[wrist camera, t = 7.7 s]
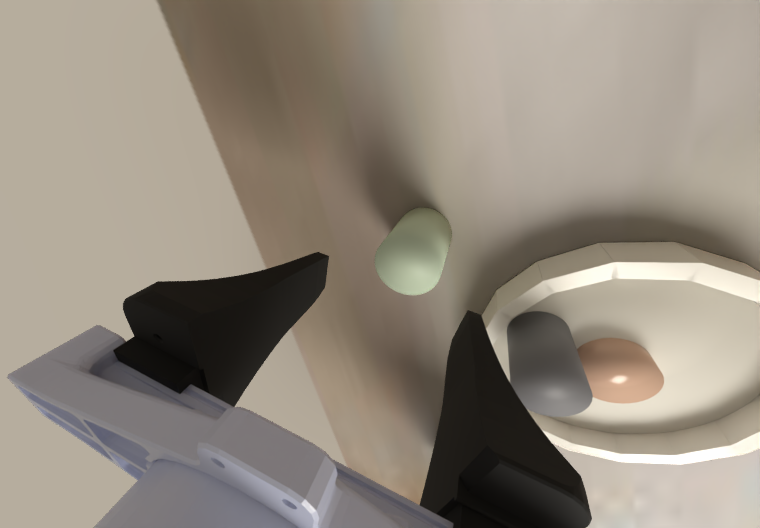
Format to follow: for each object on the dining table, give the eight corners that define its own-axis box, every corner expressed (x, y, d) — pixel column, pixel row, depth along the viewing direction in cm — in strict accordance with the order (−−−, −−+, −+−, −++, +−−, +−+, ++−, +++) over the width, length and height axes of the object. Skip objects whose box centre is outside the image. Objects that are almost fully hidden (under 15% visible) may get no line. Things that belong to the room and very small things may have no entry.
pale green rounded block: (440, 265, 21) (428, 304, 17) (392, 247, 21) (369, 280, 17) (460, 218, 19) (452, 249, 14) (405, 200, 19) (382, 225, 15)
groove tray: (645, 457, 23) (661, 492, 21) (448, 372, 26) (444, 394, 24) (906, 312, 13) (980, 349, 11) (547, 203, 16) (555, 216, 14)
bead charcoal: (550, 362, 20) (565, 426, 16) (497, 340, 21) (498, 396, 17) (583, 325, 18) (610, 389, 14) (523, 302, 19) (532, 357, 15)
